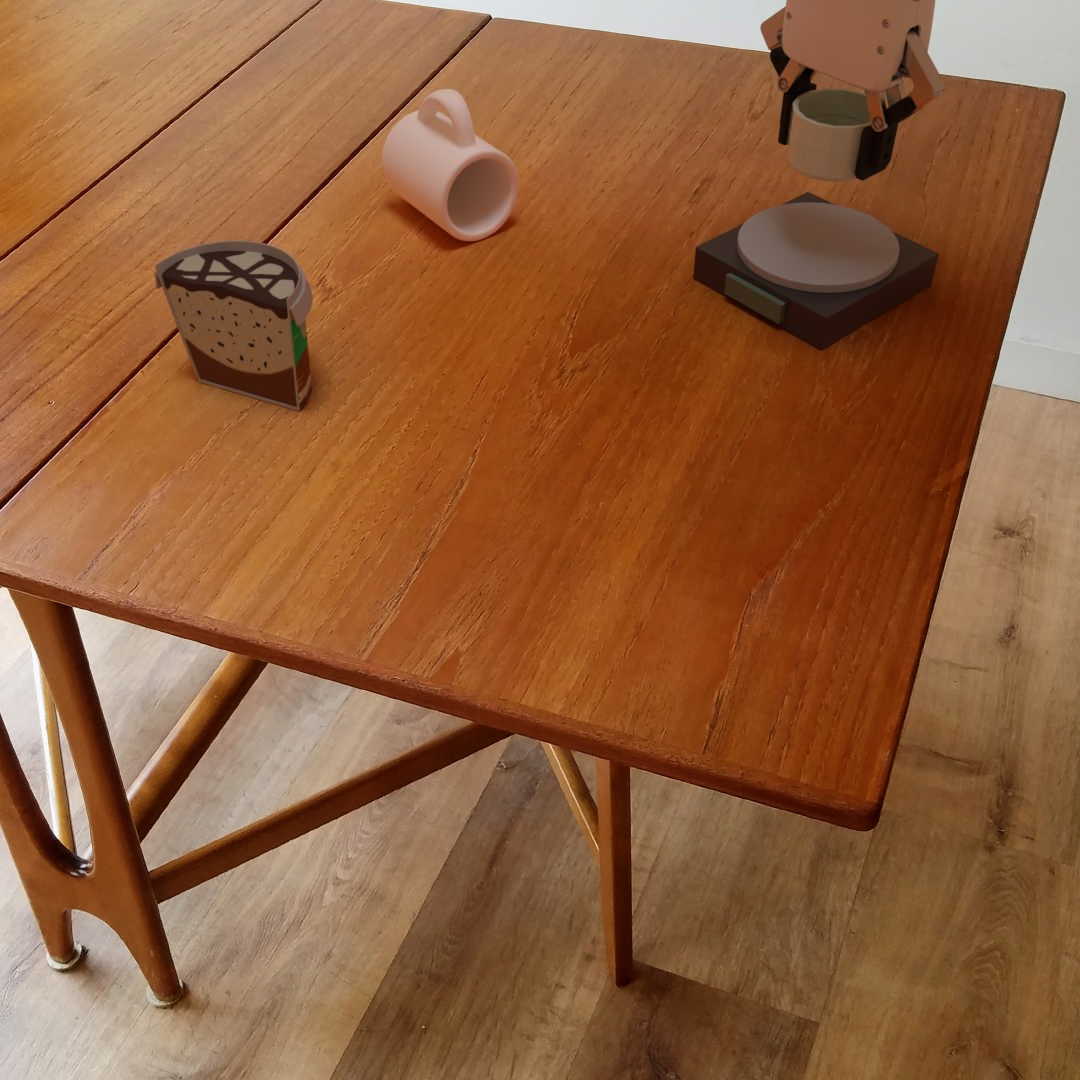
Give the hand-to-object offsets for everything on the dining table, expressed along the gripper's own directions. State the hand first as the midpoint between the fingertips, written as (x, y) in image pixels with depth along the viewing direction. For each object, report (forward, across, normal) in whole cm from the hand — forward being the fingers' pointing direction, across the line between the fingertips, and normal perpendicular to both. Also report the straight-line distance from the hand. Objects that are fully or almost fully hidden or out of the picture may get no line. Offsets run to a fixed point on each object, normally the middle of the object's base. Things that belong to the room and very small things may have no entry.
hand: (831, 154), depth 89 cm
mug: (+12, +29, +16) cm, 35 cm away
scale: (+11, 0, 0) cm, 11 cm away
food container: (+12, +19, +41) cm, 47 cm away
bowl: (+1, 0, 0) cm, 1 cm away
